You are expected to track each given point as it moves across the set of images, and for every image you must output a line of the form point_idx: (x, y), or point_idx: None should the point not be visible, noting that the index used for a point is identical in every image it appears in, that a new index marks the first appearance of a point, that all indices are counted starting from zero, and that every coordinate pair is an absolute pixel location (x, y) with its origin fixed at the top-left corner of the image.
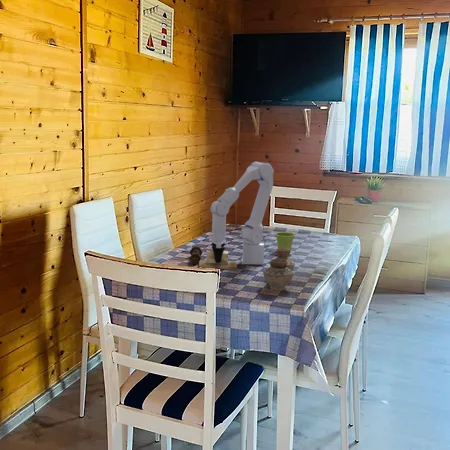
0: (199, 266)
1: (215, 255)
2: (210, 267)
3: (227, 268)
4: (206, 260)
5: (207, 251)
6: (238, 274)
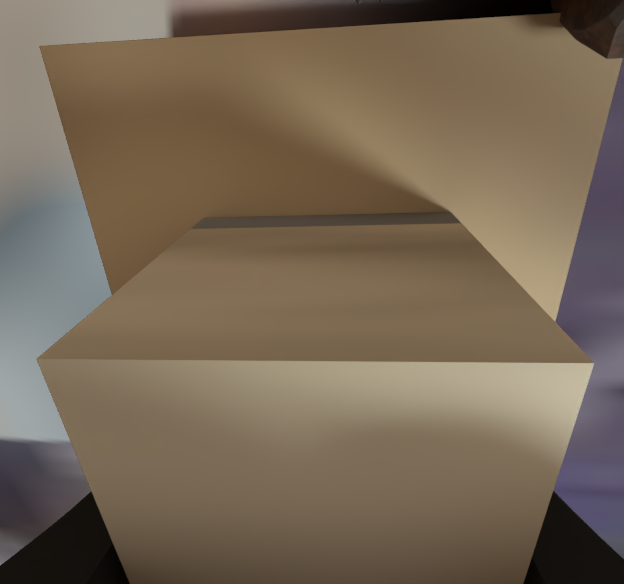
0: (49, 64)
1: (81, 531)
2: (120, 282)
3: None
4: (572, 205)
5: (352, 386)
6: (6, 538)
